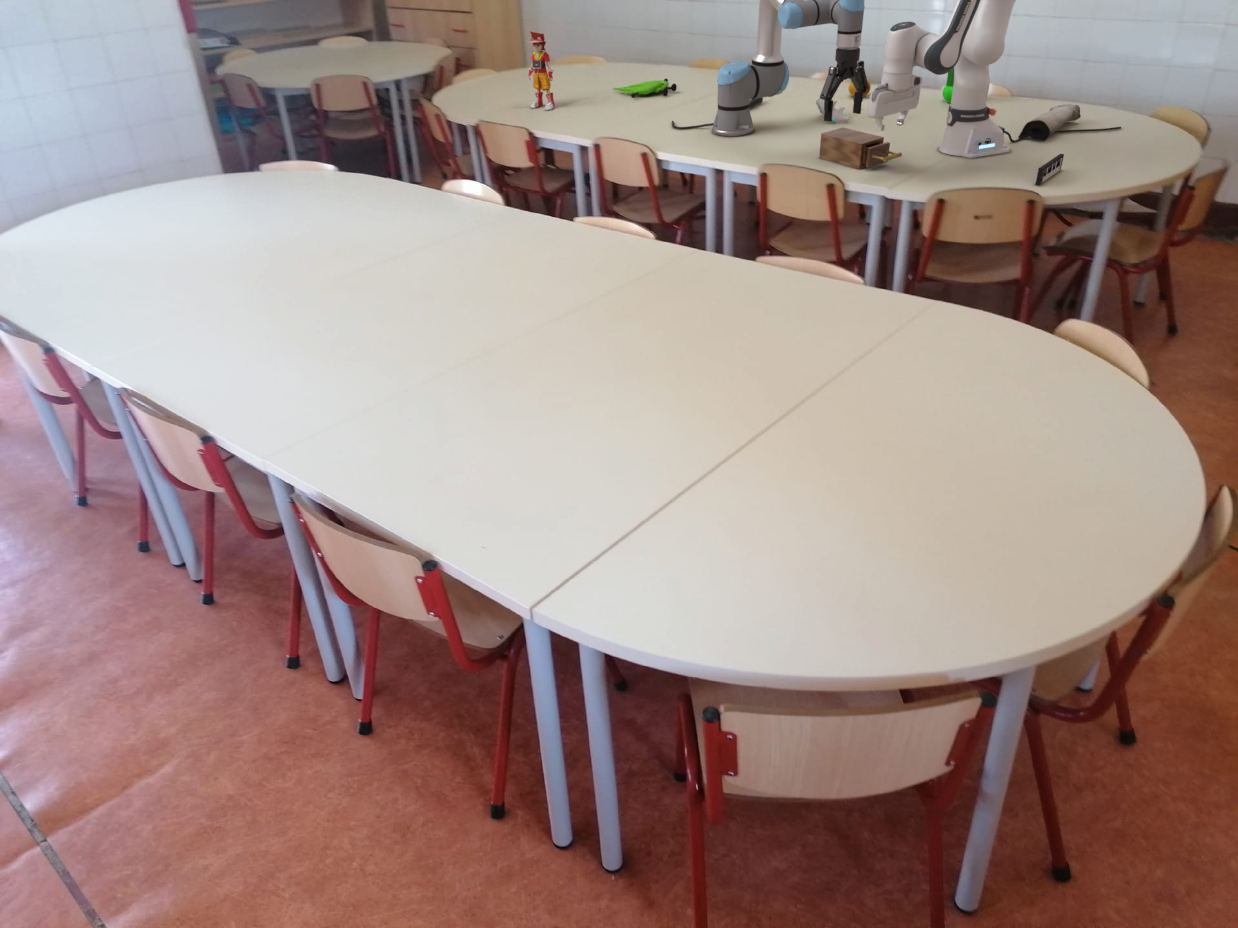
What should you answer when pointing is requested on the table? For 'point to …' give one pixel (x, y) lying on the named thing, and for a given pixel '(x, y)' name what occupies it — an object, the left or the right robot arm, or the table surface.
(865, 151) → the drawer
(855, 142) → the wooden box
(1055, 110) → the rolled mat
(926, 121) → the table surface
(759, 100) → the disk drive
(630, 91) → the toy
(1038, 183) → the midi keyboard
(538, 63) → the toy
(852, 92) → the fruit
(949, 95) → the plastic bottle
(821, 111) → the anatomical model
